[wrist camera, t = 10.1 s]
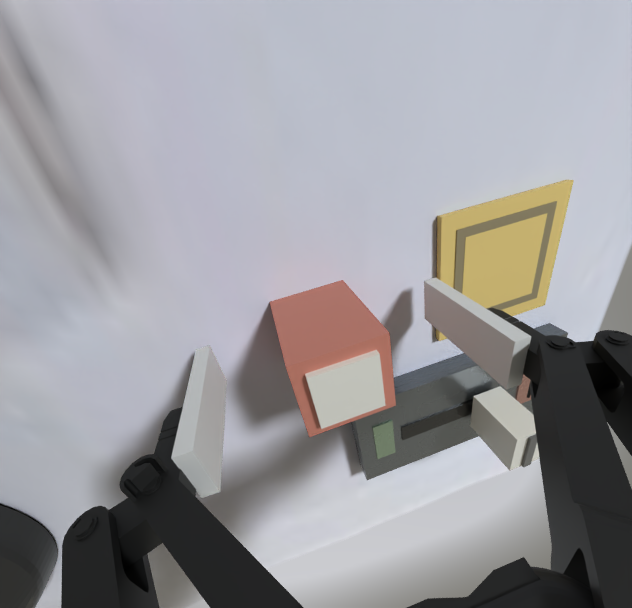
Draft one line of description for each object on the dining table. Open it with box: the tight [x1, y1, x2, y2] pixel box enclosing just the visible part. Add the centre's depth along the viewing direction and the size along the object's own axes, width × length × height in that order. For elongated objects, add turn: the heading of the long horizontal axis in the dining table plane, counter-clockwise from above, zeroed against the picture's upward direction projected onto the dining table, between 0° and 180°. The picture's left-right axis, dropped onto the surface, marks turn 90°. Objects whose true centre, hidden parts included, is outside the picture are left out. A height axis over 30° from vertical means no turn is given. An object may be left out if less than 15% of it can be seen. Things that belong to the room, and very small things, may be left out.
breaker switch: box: [470, 386, 539, 470], centre depth 22 cm, size 2×4×4 cm, turn 12°
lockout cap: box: [270, 280, 396, 437], centre depth 15 cm, size 4×4×6 cm
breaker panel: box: [352, 323, 568, 480], centre depth 24 cm, size 18×9×2 cm, turn 102°
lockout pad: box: [436, 180, 573, 341], centre depth 19 cm, size 9×9×1 cm
